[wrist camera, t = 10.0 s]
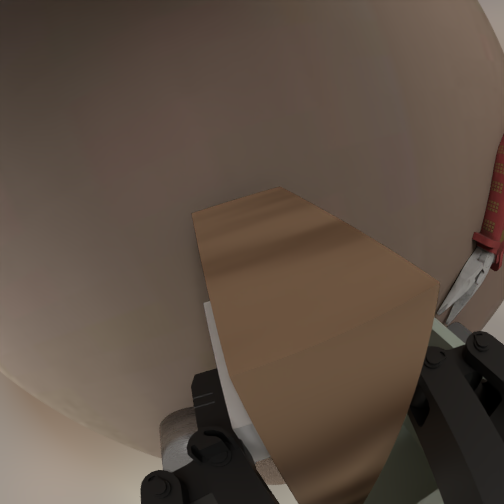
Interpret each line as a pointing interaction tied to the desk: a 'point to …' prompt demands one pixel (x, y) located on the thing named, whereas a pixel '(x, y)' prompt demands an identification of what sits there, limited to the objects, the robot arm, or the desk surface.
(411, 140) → the desk surface
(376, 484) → the green bedside cabinet
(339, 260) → the brown wooden block
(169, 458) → the silver metal dome
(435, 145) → the desk surface
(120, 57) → the desk surface
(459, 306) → the pliers
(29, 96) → the desk surface
